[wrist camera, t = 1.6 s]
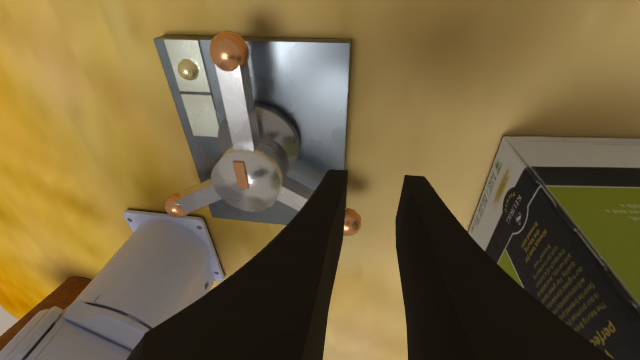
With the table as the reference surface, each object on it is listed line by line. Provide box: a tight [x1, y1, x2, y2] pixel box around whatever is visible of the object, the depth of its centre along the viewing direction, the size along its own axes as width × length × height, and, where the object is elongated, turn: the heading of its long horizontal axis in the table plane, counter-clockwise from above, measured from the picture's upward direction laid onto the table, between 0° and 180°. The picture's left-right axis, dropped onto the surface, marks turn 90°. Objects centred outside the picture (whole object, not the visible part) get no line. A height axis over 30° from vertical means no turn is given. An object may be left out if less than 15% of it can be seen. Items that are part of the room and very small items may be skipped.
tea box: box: [468, 136, 640, 360], centre depth 15 cm, size 15×10×15 cm, turn 4°
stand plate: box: [154, 35, 351, 225], centre depth 20 cm, size 14×11×2 cm
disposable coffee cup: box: [0, 277, 91, 351], centre depth 35 cm, size 10×10×12 cm
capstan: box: [165, 31, 361, 236], centre depth 17 cm, size 12×14×4 cm
